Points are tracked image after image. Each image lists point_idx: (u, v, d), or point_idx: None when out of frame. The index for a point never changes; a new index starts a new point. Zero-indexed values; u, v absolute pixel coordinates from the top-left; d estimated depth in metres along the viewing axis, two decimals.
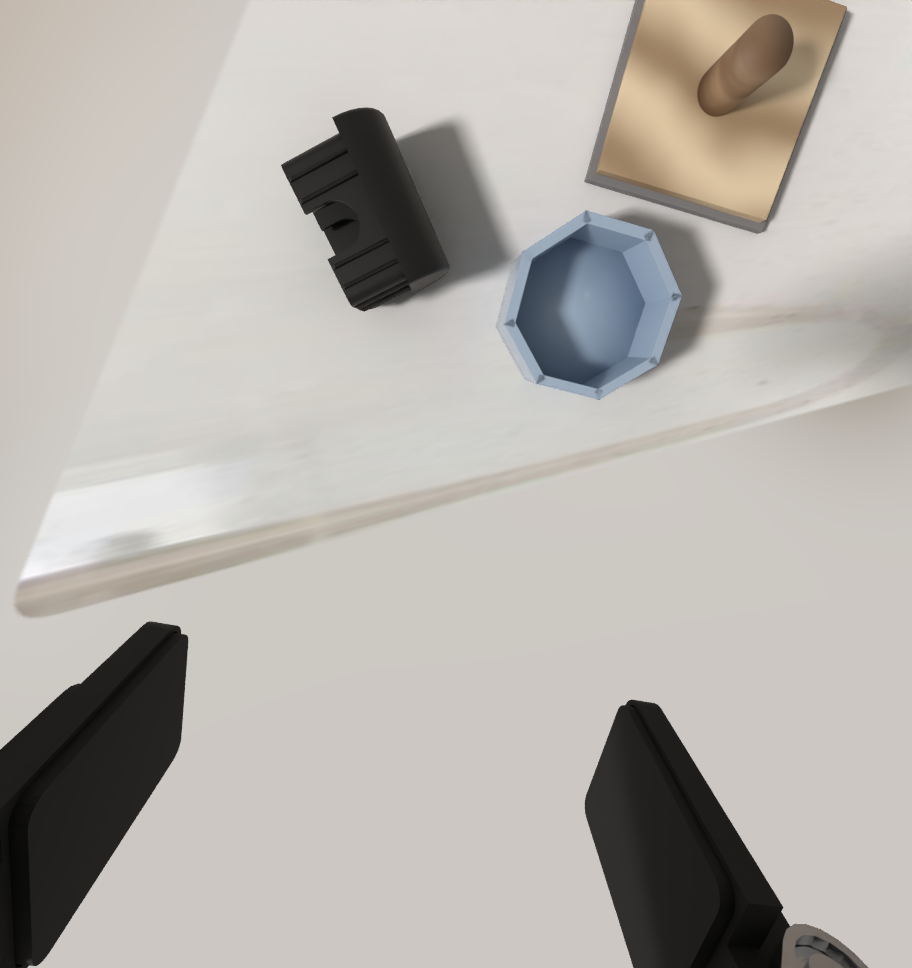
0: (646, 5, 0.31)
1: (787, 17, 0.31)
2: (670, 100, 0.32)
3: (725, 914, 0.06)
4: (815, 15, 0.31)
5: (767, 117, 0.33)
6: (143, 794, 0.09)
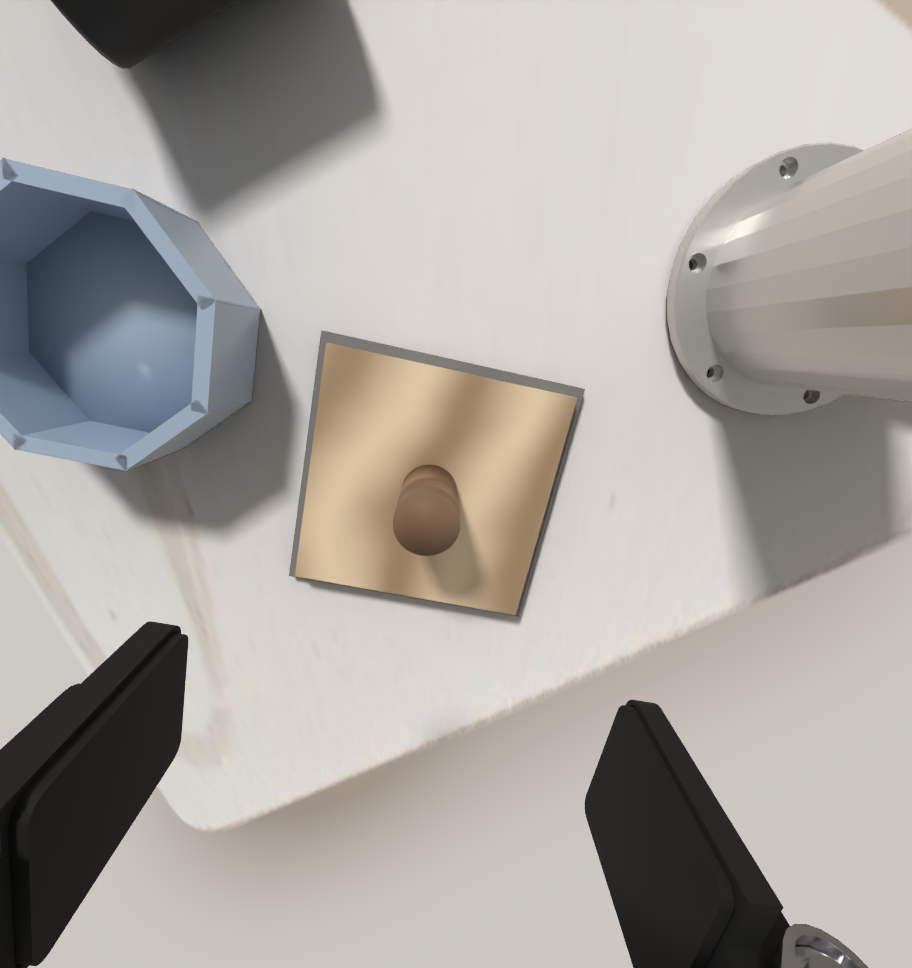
0: (514, 385, 0.24)
1: (504, 555, 0.27)
2: (415, 431, 0.25)
3: (725, 914, 0.06)
4: (507, 584, 0.27)
5: (405, 554, 0.27)
6: (143, 794, 0.09)
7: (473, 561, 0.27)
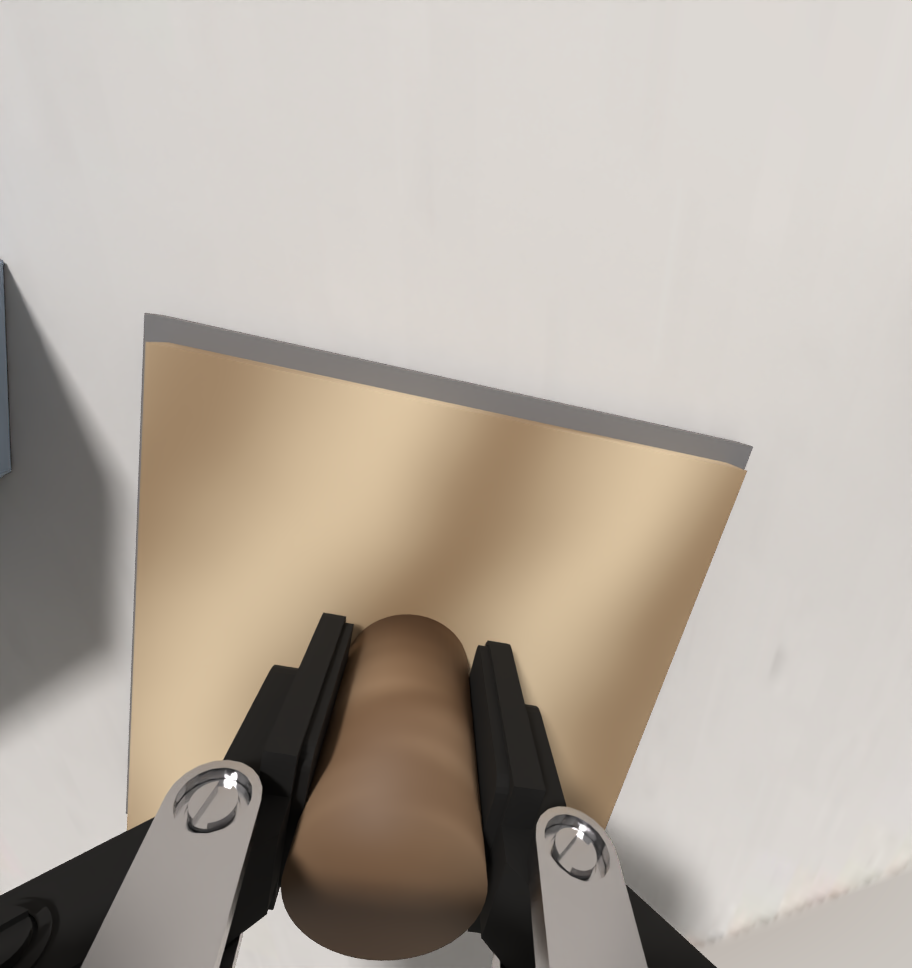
0: (605, 441, 0.10)
1: (565, 784, 0.13)
2: (373, 545, 0.11)
3: (501, 799, 0.07)
4: None
5: None
6: None
7: None
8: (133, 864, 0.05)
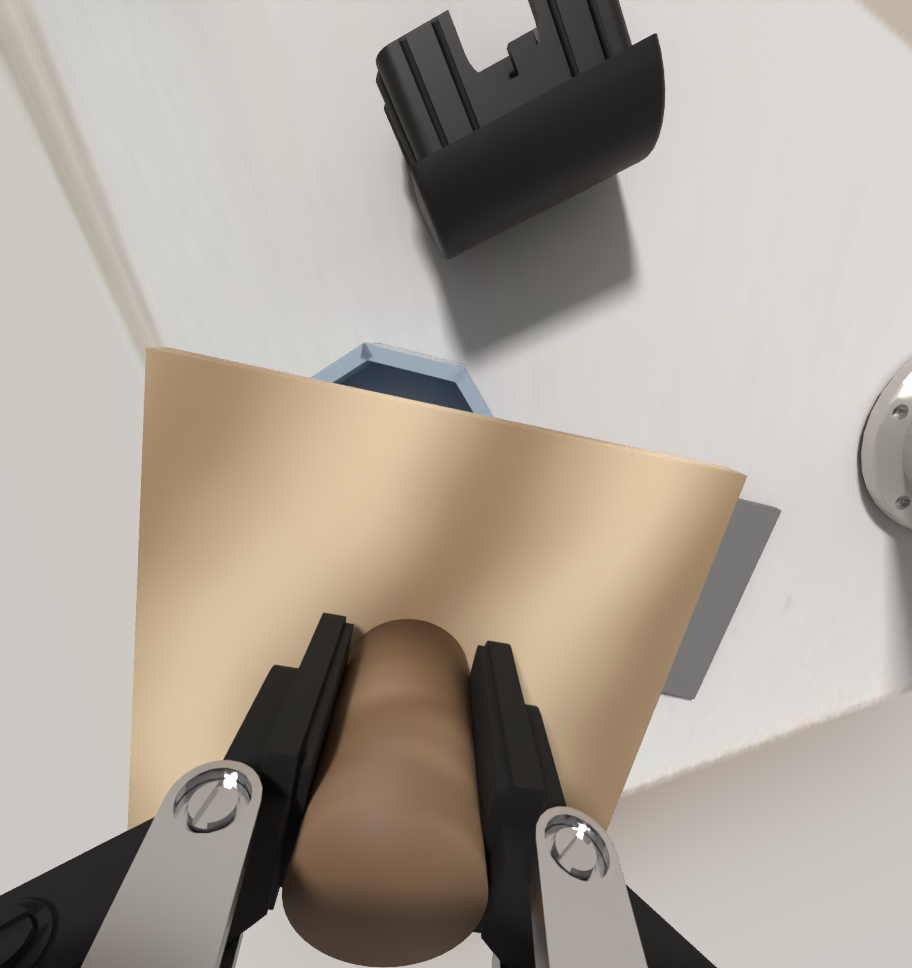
0: (605, 446, 0.10)
1: (565, 789, 0.13)
2: (373, 550, 0.11)
3: (501, 799, 0.07)
4: None
5: None
6: None
7: None
8: (133, 864, 0.05)
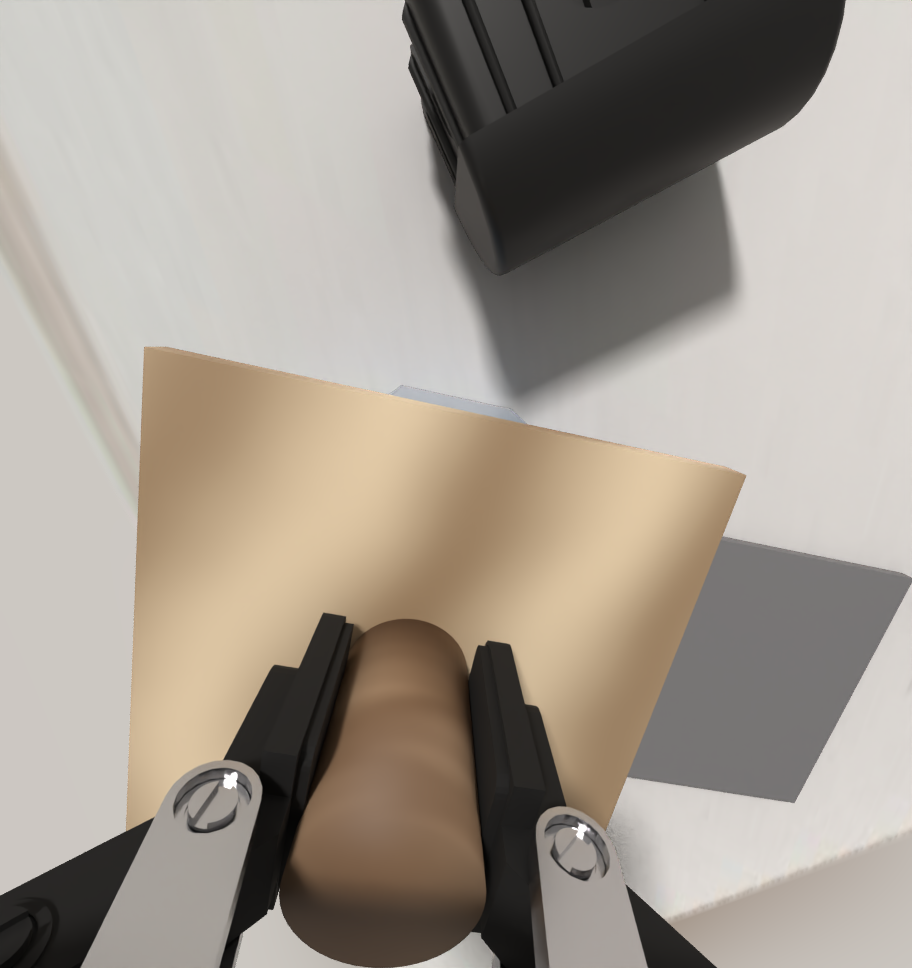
0: (604, 446, 0.10)
1: (565, 789, 0.13)
2: (372, 550, 0.11)
3: (501, 799, 0.07)
4: None
5: None
6: None
7: None
8: (133, 864, 0.05)
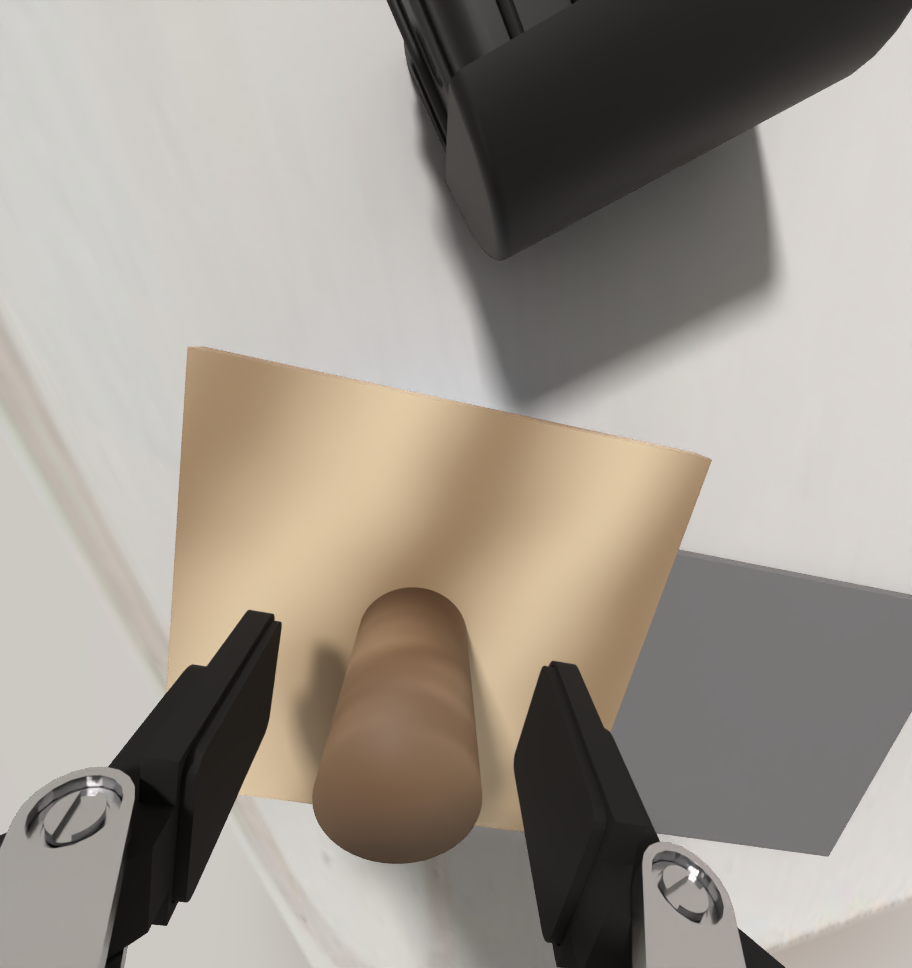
0: (586, 433, 0.12)
1: None
2: (383, 526, 0.12)
3: (598, 834, 0.07)
4: None
5: None
6: (248, 763, 0.10)
7: (496, 754, 0.14)
8: None
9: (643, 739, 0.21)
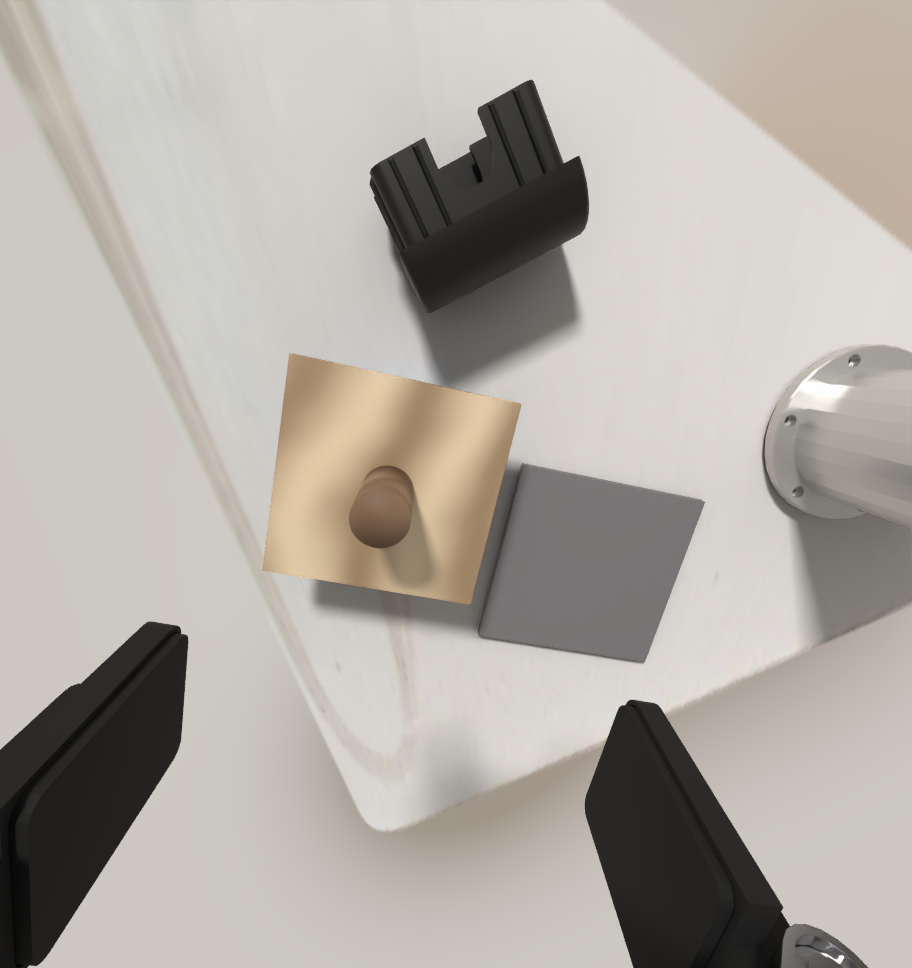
0: (464, 392, 0.27)
1: (458, 549, 0.29)
2: (373, 435, 0.27)
3: (725, 914, 0.06)
4: (462, 576, 0.30)
5: (366, 548, 0.29)
6: (143, 794, 0.09)
7: (430, 555, 0.29)
8: None
9: (525, 582, 0.36)
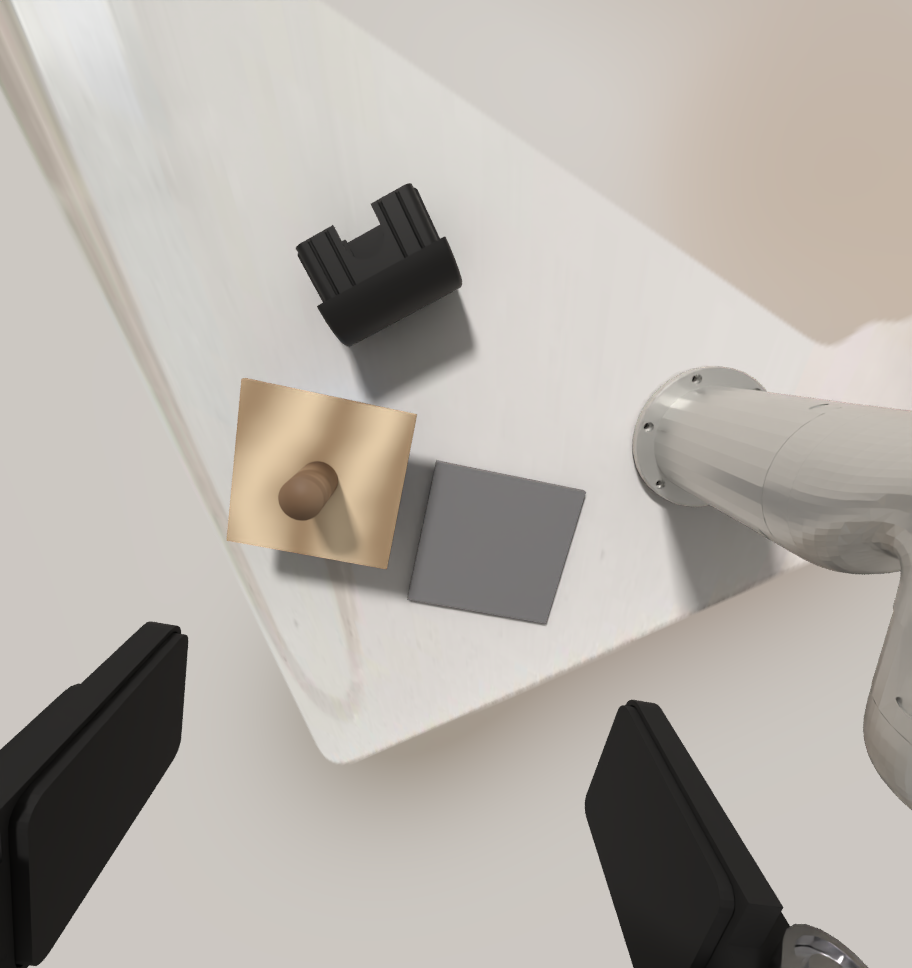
0: (373, 406, 0.35)
1: (375, 525, 0.38)
2: (306, 438, 0.36)
3: (725, 914, 0.06)
4: (378, 546, 0.39)
5: (304, 524, 0.38)
6: (143, 794, 0.09)
7: (353, 530, 0.38)
8: None
9: (443, 556, 0.45)
